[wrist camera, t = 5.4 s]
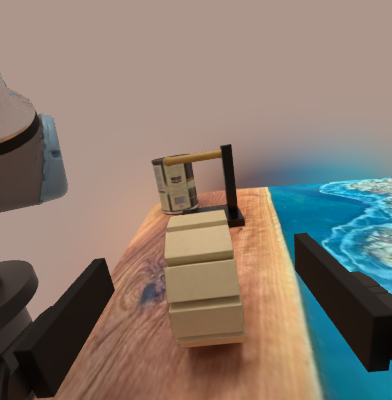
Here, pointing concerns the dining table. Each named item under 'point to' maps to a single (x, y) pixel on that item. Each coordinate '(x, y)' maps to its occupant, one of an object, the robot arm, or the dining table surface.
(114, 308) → the dining table surface
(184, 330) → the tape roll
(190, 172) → the coffee can
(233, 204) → the hook stand
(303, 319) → the dining table surface
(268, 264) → the dining table surface
